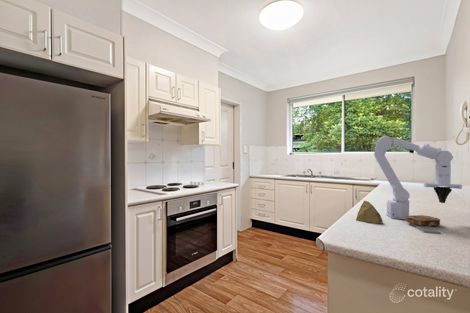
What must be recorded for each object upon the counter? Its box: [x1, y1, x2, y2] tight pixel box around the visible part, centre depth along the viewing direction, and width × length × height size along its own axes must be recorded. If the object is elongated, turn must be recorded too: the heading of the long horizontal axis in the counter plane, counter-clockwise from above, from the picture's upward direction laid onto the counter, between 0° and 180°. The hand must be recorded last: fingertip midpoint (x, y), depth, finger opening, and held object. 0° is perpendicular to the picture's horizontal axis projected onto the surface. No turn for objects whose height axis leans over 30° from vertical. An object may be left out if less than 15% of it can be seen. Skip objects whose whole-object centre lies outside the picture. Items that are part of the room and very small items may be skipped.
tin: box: [406, 215, 441, 227], centre depth 108 cm, size 15×3×8 cm
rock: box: [355, 200, 384, 224], centre depth 111 cm, size 11×9×10 cm
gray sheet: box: [407, 222, 442, 235], centre depth 103 cm, size 6×15×1 cm, turn 163°
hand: (442, 202), depth 112 cm, fingers closed
